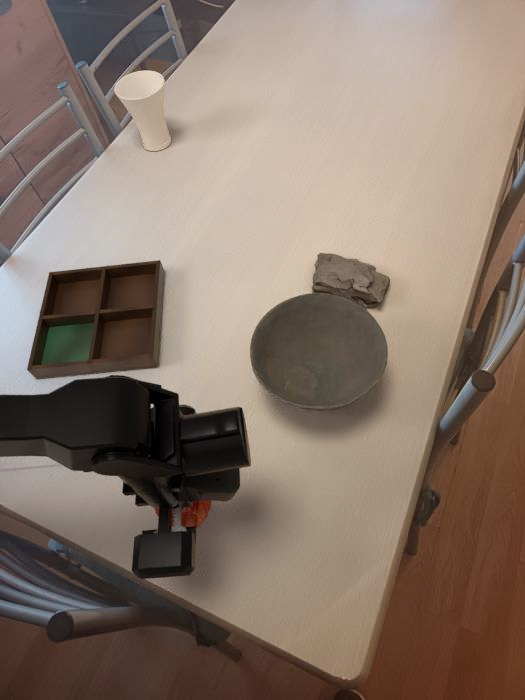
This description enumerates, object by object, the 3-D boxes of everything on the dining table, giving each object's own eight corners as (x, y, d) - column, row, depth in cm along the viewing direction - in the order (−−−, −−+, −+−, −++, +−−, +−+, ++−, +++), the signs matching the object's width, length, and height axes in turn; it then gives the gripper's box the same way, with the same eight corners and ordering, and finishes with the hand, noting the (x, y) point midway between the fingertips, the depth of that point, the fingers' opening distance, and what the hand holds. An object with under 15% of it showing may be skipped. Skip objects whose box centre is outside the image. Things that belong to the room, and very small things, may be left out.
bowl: (233, 375, 79) (223, 341, 70) (323, 311, 84) (323, 272, 75) (310, 464, 70) (309, 436, 62) (405, 386, 75) (417, 351, 67)
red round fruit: (207, 546, 64) (234, 479, 62) (168, 566, 57) (198, 491, 55) (167, 513, 67) (192, 448, 65) (126, 528, 61) (153, 457, 59)
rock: (393, 273, 87) (396, 258, 83) (379, 314, 82) (381, 299, 79) (319, 256, 90) (319, 240, 87) (301, 294, 86) (301, 279, 83)
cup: (166, 160, 109) (149, 102, 98) (126, 153, 112) (104, 95, 101) (187, 132, 114) (173, 73, 103) (148, 125, 117) (130, 67, 106)
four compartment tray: (36, 379, 82) (26, 369, 79) (57, 283, 93) (49, 272, 90) (158, 367, 81) (153, 357, 78) (164, 271, 92) (160, 260, 89)
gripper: (231, 557, 44) (250, 581, 57) (227, 374, 54) (244, 431, 67) (108, 566, 45) (155, 588, 58) (127, 384, 55) (163, 438, 68)
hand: (184, 505), depth 63 cm, fingers closed on red round fruit, 7 cm apart
